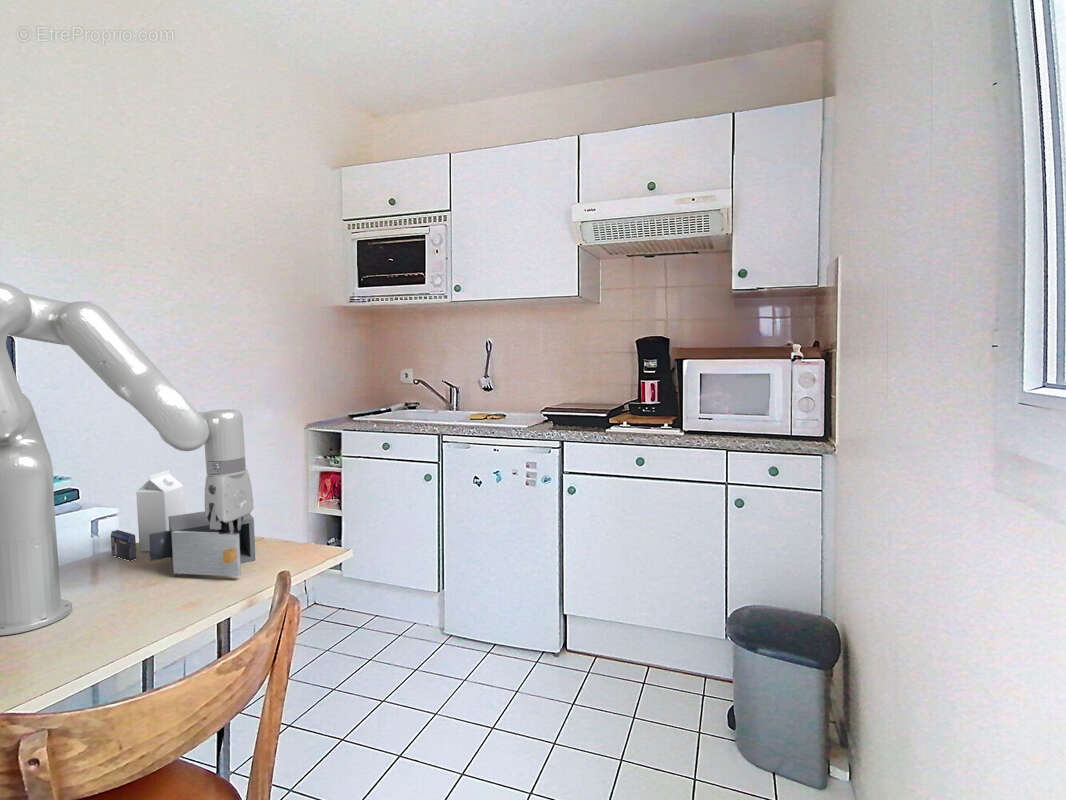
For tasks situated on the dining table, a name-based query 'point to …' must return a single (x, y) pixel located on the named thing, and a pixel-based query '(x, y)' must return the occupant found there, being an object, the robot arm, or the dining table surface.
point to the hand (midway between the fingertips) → (231, 549)
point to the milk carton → (158, 505)
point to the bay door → (206, 553)
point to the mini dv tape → (123, 545)
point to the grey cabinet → (198, 523)
